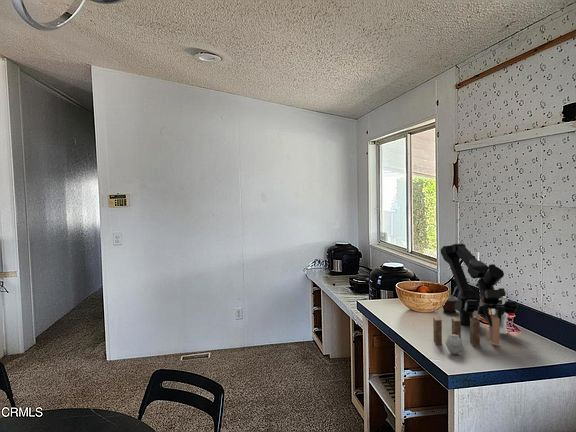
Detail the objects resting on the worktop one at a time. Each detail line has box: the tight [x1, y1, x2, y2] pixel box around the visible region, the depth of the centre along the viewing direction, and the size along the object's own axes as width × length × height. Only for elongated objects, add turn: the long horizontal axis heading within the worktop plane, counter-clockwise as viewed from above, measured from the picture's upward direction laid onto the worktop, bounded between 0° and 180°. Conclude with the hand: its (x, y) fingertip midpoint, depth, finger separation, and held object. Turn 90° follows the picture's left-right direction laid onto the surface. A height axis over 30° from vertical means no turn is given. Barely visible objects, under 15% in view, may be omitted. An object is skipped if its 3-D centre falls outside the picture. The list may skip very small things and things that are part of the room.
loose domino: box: [488, 314, 501, 345], centre depth 154 cm, size 2×5×10 cm, turn 168°
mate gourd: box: [442, 285, 458, 315], centre depth 198 cm, size 8×8×15 cm
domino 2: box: [451, 316, 462, 340], centre depth 157 cm, size 2×5×10 cm, turn 168°
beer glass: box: [489, 296, 509, 335], centre depth 168 cm, size 7×7×15 cm
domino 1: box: [432, 315, 443, 346], centre depth 158 cm, size 2×5×10 cm, turn 168°
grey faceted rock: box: [445, 333, 464, 355], centre depth 147 cm, size 6×7×7 cm
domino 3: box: [469, 317, 481, 348], centre depth 155 cm, size 2×5×10 cm, turn 168°
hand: (495, 326), depth 152 cm, fingers closed on loose domino, 2 cm apart
